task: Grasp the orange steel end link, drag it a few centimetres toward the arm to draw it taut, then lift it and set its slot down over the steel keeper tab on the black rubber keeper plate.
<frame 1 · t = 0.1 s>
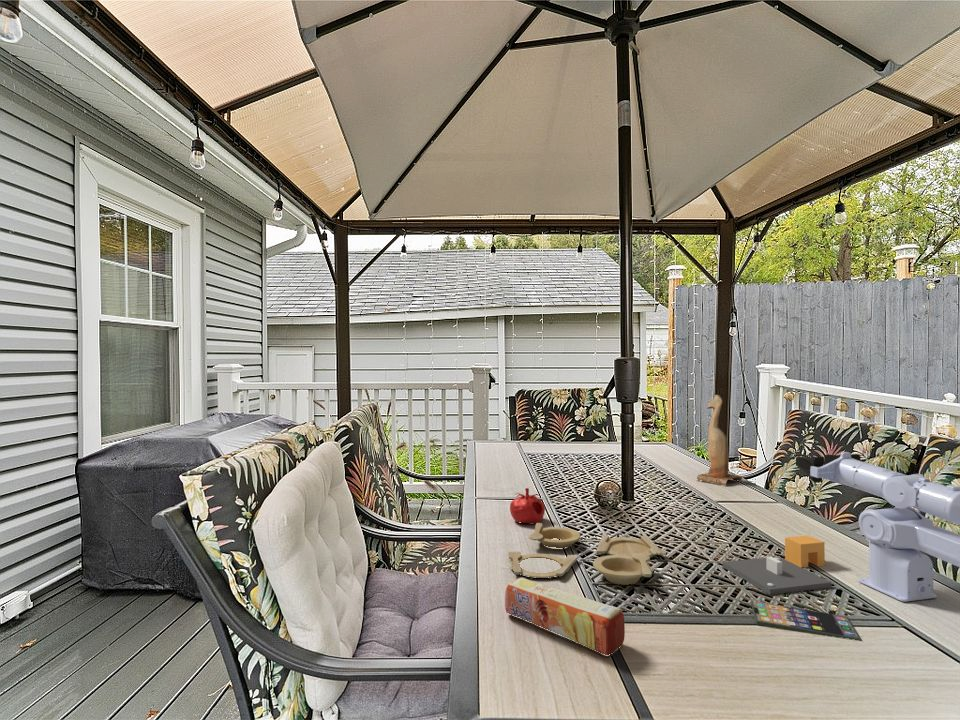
hand: (811, 460, 122), 22 cm above the table, tool horizontal, fingers open, 7 cm apart
keeper plate: (774, 576, 109), on the table
tableware set: (586, 561, 120), on the table
smartphone: (802, 625, 91), on the table
snack package: (560, 633, 89), on the table
pomegranate: (527, 522, 149), on the table
bird sculpture: (719, 482, 193), on the table
end link: (804, 562, 117), on the table
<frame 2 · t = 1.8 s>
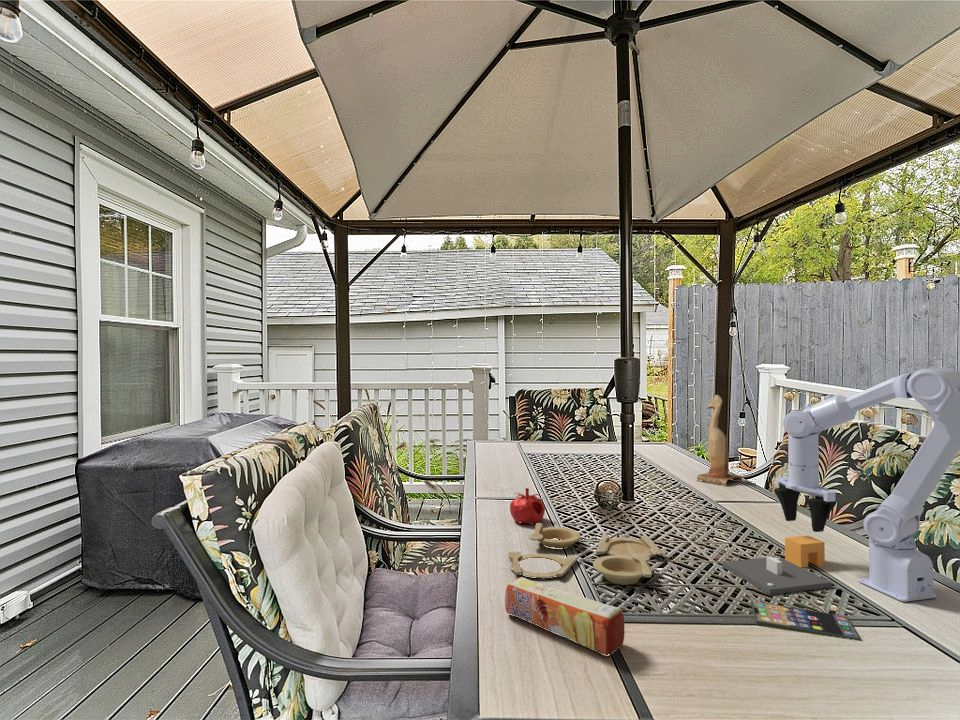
hand: (803, 525, 117), 8 cm above the table, tool pointing down, fingers open, 7 cm apart
nothing on the table moved.
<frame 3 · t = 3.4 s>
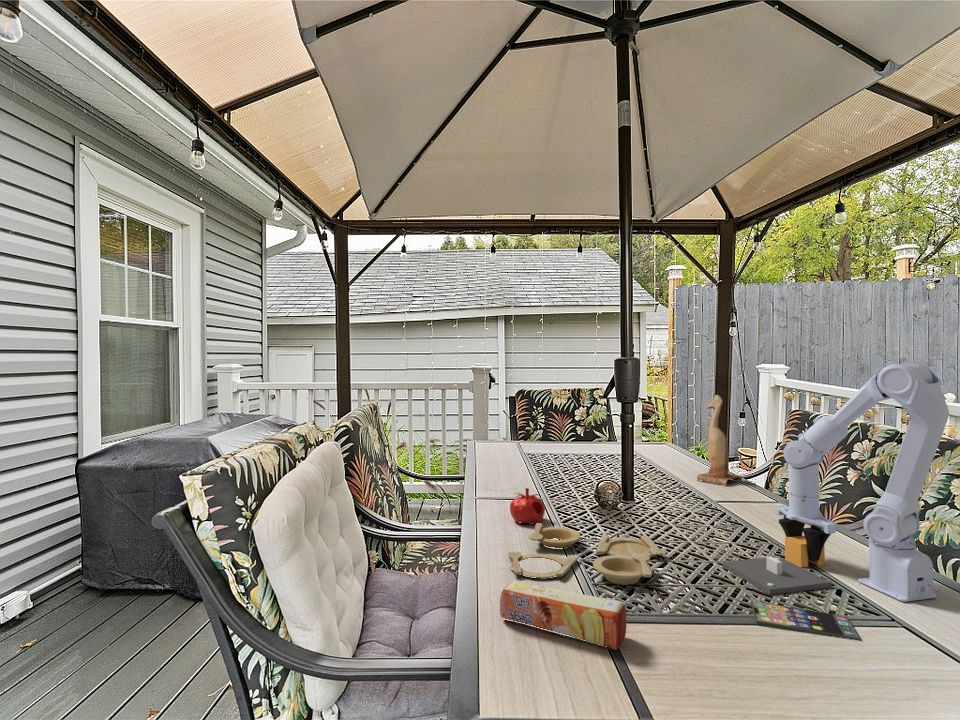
hand: (804, 555, 117), 1 cm above the table, tool pointing down, fingers closed on end link, 4 cm apart
end link: (804, 562, 117), on the table, touching gripper
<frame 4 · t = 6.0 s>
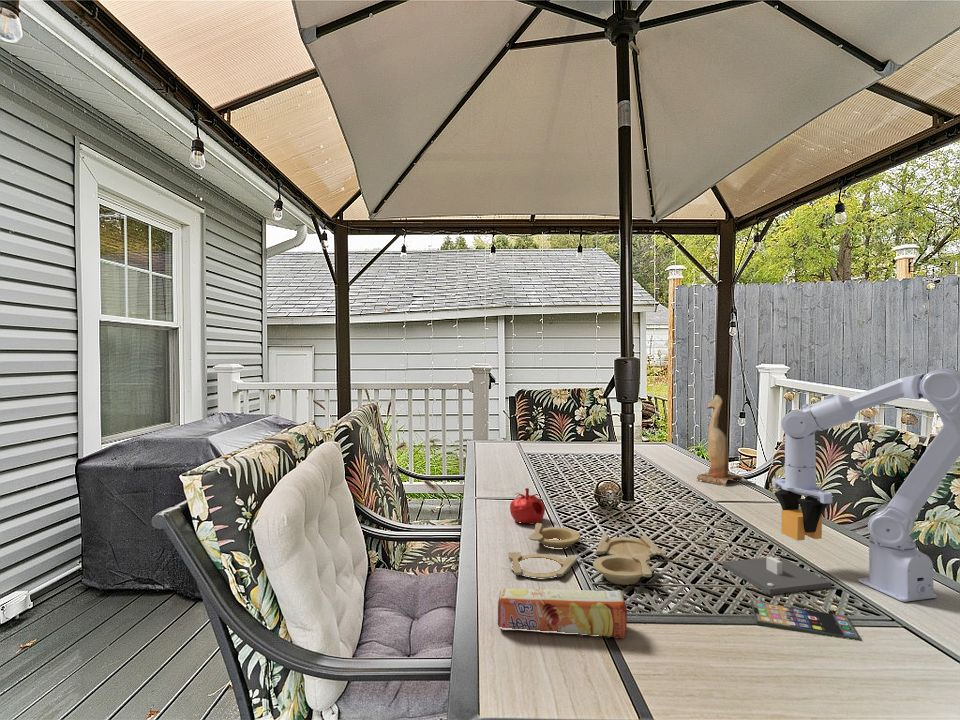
hand: (800, 528, 114), 8 cm above the table, tool pointing down, fingers closed on end link, 4 cm apart
end link: (801, 535, 114), point 7 cm above the table, touching gripper
when the fingers open (4 cm above the table, at t = 8.5 s): end link drops 1 cm, resting on keeper plate.
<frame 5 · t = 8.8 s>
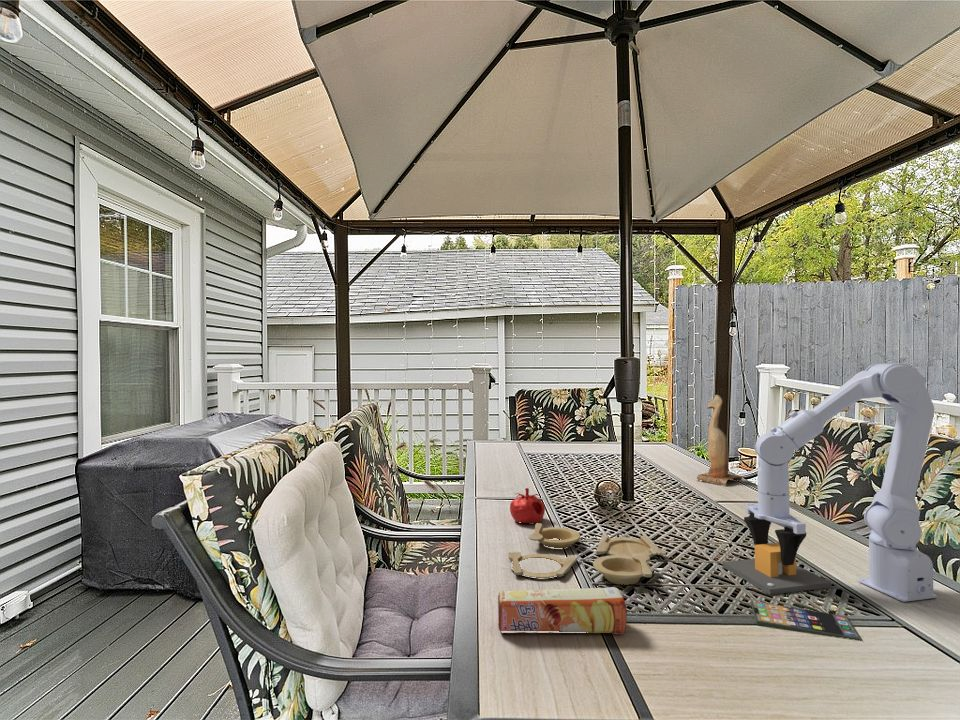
hand: (774, 557, 109), 4 cm above the table, tool pointing down, fingers open, 7 cm apart
end link: (775, 571, 110), point 1 cm above the table, touching keeper plate
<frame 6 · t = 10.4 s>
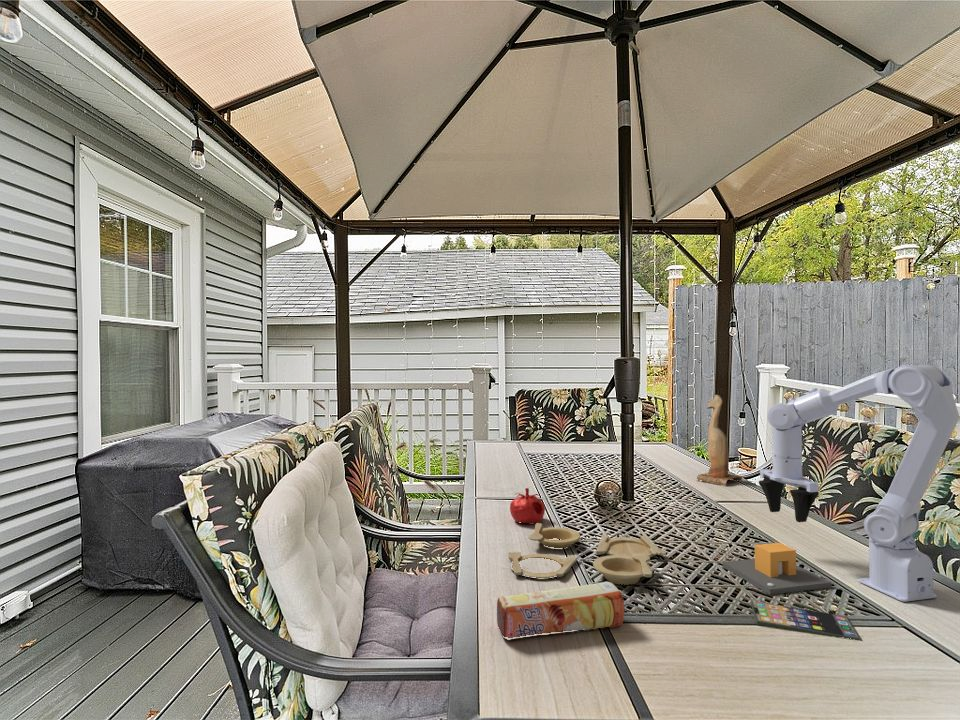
hand: (787, 516, 119), 9 cm above the table, tool pointing down, fingers open, 7 cm apart
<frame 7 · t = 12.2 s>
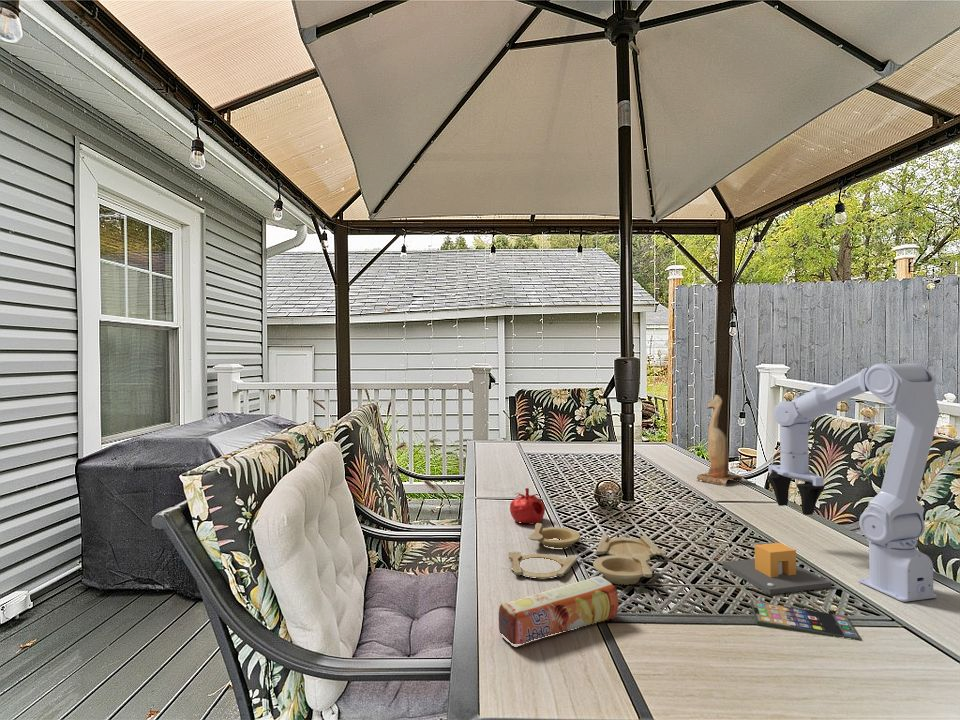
hand: (794, 509, 124), 9 cm above the table, tool pointing down, fingers open, 7 cm apart
at the end: end link 0.2 cm off-centre on the keeper plate, point 1.0 cm above the keeper plate's base; end link tilted 0°; the gripper is holding nothing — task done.
